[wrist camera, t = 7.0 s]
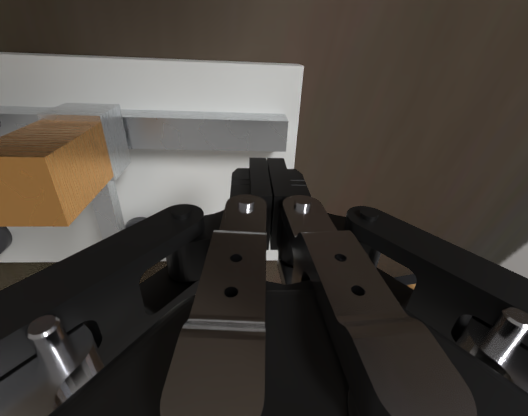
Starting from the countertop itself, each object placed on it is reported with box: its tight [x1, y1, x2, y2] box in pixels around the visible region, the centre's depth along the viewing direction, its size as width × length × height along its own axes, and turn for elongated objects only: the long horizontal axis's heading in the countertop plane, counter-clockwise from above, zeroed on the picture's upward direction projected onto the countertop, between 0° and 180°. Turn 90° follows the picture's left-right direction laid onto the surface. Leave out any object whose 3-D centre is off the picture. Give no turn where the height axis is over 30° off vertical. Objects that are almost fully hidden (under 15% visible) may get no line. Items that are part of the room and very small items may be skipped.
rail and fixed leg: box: [0, 106, 289, 152], centre depth 18 cm, size 11×26×10 cm, turn 88°
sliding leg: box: [0, 103, 131, 240], centre depth 17 cm, size 11×3×8 cm, turn 178°
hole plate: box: [0, 52, 304, 262], centre depth 22 cm, size 16×28×3 cm, turn 88°
